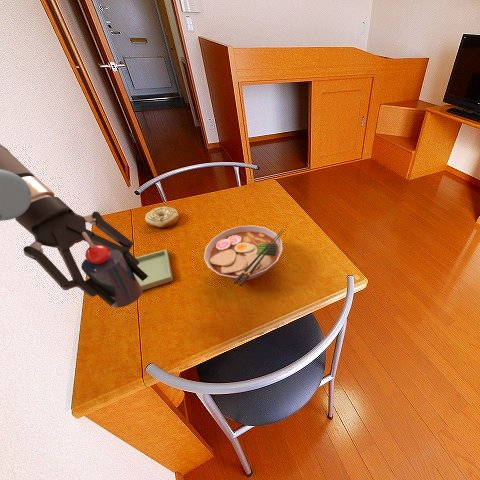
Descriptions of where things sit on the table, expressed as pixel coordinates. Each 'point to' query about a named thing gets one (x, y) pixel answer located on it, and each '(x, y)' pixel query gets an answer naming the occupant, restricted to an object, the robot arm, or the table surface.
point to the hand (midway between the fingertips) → (130, 290)
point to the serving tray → (155, 269)
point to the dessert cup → (111, 273)
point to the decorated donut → (162, 217)
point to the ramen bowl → (243, 252)
